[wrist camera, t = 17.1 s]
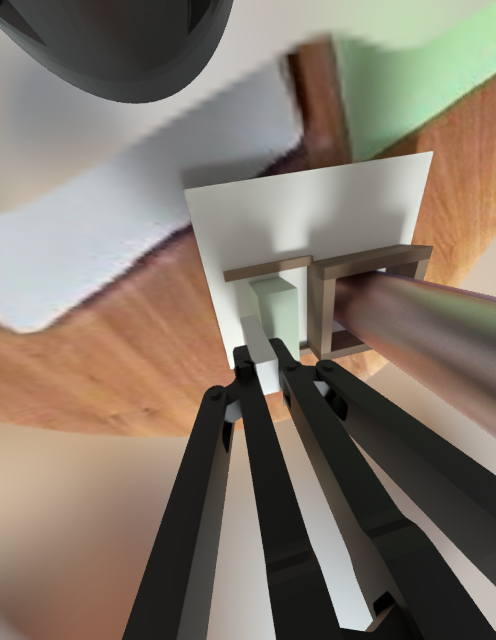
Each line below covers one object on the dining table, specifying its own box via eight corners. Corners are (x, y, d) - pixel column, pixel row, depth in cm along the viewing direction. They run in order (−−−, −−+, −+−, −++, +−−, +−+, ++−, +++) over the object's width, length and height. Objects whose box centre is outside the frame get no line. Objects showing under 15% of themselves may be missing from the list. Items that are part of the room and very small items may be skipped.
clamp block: (248, 282, 16) (257, 296, 13) (279, 276, 17) (297, 287, 13) (259, 352, 20) (269, 377, 16) (284, 346, 20) (300, 370, 17)
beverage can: (379, 260, 18) (885, 344, 4) (370, 314, 20) (664, 466, 7) (323, 272, 17) (697, 407, 4) (321, 325, 20) (537, 512, 7)
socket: (306, 262, 16) (324, 268, 14) (399, 244, 17) (433, 246, 15) (307, 345, 21) (320, 362, 18) (381, 327, 22) (404, 341, 19)
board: (185, 193, 14) (181, 187, 12) (414, 158, 16) (443, 147, 14) (229, 360, 22) (231, 373, 20) (379, 325, 23) (394, 333, 21)
